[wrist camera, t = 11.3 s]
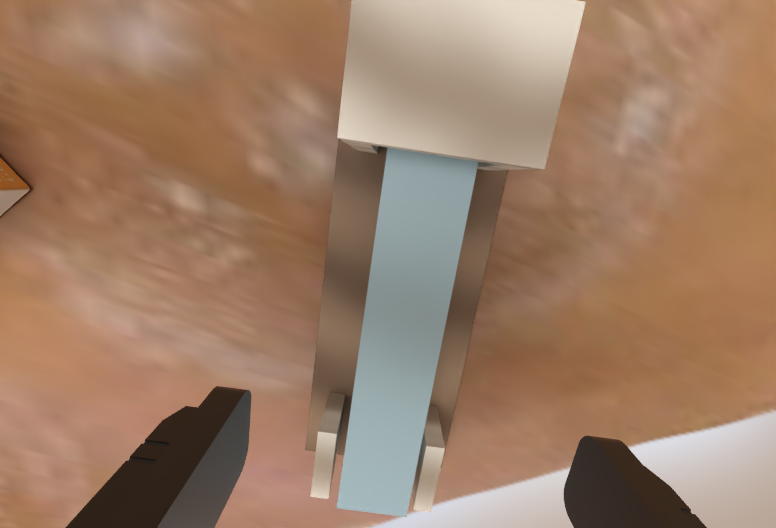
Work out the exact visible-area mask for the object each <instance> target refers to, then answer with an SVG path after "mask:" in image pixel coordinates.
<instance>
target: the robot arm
mask: <svg viewBox="0 0 776 528" xmlns="http://www.w3.org/2000/svg"><path fill="white" fill-rule="evenodd" d="M250 410H251V392H250V391H249V390H242V389H235V388H227V387H220V386H217V387H215V388H214V389H213V390H212V391H211V392H210V394H209V395H208V396H207V397H206V398H205V400H204V401H203V402H202V403H201V405H200V406H199V407H198V408H197V407H189V406H186V407H184V408H182V409H181V410H179V411H177V412H176V413H174V414H173V415H171V416H169V417H168V418H166V419H164V420H163V421H162V422H161V423H160V424H159V425H158V426H157V427H156V428H155V430H154V431H153V432H152V433H151V434H150V435H149V436H148V437H147V438H146V439H145V443H144V444H141V445H140V446H139V447H138V448H137V449H136V450H135V452H134V453H133V454H132V455H131V456H130V459H129V461H126V462H125V463H124V464H123V465H122V466H121V467H120V468H119V469H118V470H117V471H116V473H115V474H114V475H113V476H112V477H111V478H110V479H109V480H108V481H107V482H106V484H105V485H104V486H103V487H102V488H101V489H100V490H99V491H98V492H97V494H96V495H95V496H94V497H93V498H92V499H91V500H90V501H89V502H88V503H87V505H86V506H85V507H84V508H83V509H82V510H81V511H80V512H79V513H78V514H77V516H76V517H75V518H74V519H73V520H72V521H71V522H70V523H69V524H68V526H67V527H66V528H214V527H215V525H216V523H217V521H218V519H219V517H220V515H221V513H222V511H223V509H224V507H225V505H226V503H227V501H228V499H229V497H230V495H231V493H232V491H233V488H234V486H235V484H236V482H237V480H238V478H239V476H240V474H241V472H242V469H243V466H244V463H245V460H246V456H247V451H248V444H249V427H250ZM564 502H565V507H566V511H567V514H568V516H569V519H570V521H571V523H572V525H573V526H574V528H707V527H706V526H705V525H704V524H703V523H702V522H701V521H700V520H699V518H698V517H697V516H696V515H695V514H692V513H691V510H690V508H689V507H688V506H687V505H686V504H685V503H684V501H682V499H681V498H680V497H679V496H678V495H677V494H676V492H675V491H674V490H673V489H672V488H671V487H670V486H669V485H667V484H666V483H665V482H664V481H663V480H661V479H660V478H659V477H658V476H656V475H655V474H654V473H652V472H651V471H650V470H649V469H647V468H646V467H645V466H643V465H642V464H641V462H640V461H639V460H638V459H637V458H636V457H635V455H634V454H633V453H632V452H631V451H630V450H629V448H628V447H627V446H626V445H625V444H624V443H623V442H621V441H620V440H616V439H608V438H600V437H593V436H584V437H583V438H582V439H581V440H580V442H579V445H578V448H577V451H576V454H575V457H574V460H573V463H572V466H571V469H570V472H569V475H568V477H567V481H566V483H565V488H564Z"/></svg>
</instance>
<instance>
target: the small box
mask: <svg viewBox="0 0 776 528" xmlns="http://www.w3.org/2000/svg"><path fill="white" fill-rule="evenodd" d="M29 190H30V188H29V186H28V185H27V184H26V183H25V182H24V181H23V180H22V179H21V178H20V177H18V176H17V175H16V173H15V172H14V171H13V170H12V169H11V168H10V167H9V166H8V165H7V164H6V163H5V162H4V161H3V160H2V159H1V157H0V216H1V215H2V214H3V213H4V212H5V211H6V210H8V209H9V208H10V207H11V206H12V205H13V204H14V203H15V202H17V201H18V200H19V199H20V198H21V197H22V196H23V195H25V194H26V193H27V192H28V191H29Z"/></svg>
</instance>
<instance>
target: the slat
mask: <svg viewBox="0 0 776 528" xmlns="http://www.w3.org/2000/svg"><path fill="white" fill-rule="evenodd" d="M478 162H479V161H473V160H466V159H460V158H453V157H447V156H440V155H434V154H427V153H421V152H414V151H408V150H401V149H395V148H387V155H386V162H385V169H384V177H383V184H382V191H381V198H380V205H379V212H378V219H377V226H376V233H375V240H374V247H373V255H372V262H371V269H370V276H369V283H368V290H367V297H366V304H365V311H364V318H363V325H362V332H361V340H360V347H359V354H358V361H357V368H356V375H355V382H354V389H353V396H352V403H351V410H350V418H349V425H348V432H347V439H346V446H345V453H344V460H343V467H342V474H341V481H340V488H339V496H338V503H337V508H340V509H347V510H355V511H363V512H371V513H378V514H386V515H394V516H401V517H406V516H407V512H408V507H409V502H410V497H411V492H412V487H413V482H414V477H415V472H416V467H417V463H418V458H419V453H420V448H421V443H422V438H423V433H424V428H425V423H426V418H427V413H428V408H429V403H430V398H431V394H432V389H433V384H434V379H435V374H436V369H437V364H438V359H439V354H440V349H441V344H442V339H443V334H444V329H445V325H446V320H447V315H448V310H449V305H450V300H451V295H452V290H453V285H454V280H455V275H456V270H457V265H458V261H459V256H460V251H461V246H462V241H463V236H464V231H465V226H466V221H467V216H468V211H469V206H470V201H471V196H472V192H473V187H474V182H475V177H476V172H477V167H478Z"/></svg>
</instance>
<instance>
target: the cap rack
mask: <svg viewBox="0 0 776 528" xmlns="http://www.w3.org/2000/svg"><path fill="white" fill-rule="evenodd" d="M585 3H586V2H583V1H577V0H352V3H351V13H350V22H349V32H348V41H347V50H346V60H345V69H344V79H343V88H342V97H341V107H340V116H339V126H338V135H337V138H339V140H338V150H337V159H336V168H335V178H334V187H333V196H332V206H331V215H330V224H329V234H328V243H327V252H326V262H325V271H324V280H323V290H322V299H321V308H320V318H319V327H318V336H317V346H316V355H315V364H314V374H313V383H312V392H311V402H310V411H309V420H308V430H307V439H306V448H305V450H309V451H316V454H315V462H314V471H313V480H312V488H311V497H318V498H326V499H328V498H329V493H330V488H331V483H332V478H333V473H334V468H335V463H336V457H337V454H339V455H344V453H345V446H346V439H347V432H348V425H349V418H350V410H351V403H352V396H353V389H354V382H355V375H356V368H357V361H358V354H359V347H360V340H361V332H362V325H363V318H364V311H365V304H366V297H367V290H368V283H369V276H370V269H371V262H372V255H373V247H374V240H375V233H376V226H377V219H378V212H379V205H380V198H381V191H382V184H383V177H384V169H385V162H386V155H387V148H395V149H401V150H408V151H414V152H421V153H427V154H434V155H440V156H447V157H453V158H460V159H466V160H473V161H479V162H478V167H477V172H476V177H475V182H474V187H473V192H472V196H471V201H470V206H469V211H468V216H467V221H466V226H465V231H464V236H463V241H462V246H461V251H460V256H459V261H458V265H457V270H456V275H455V280H454V285H453V290H452V295H451V300H450V305H449V310H448V315H447V320H446V325H445V329H444V334H443V339H442V344H441V349H440V354H439V359H438V364H437V369H436V374H435V379H434V384H433V389H432V394H431V398H430V403H429V408H428V413H427V418H426V423H425V428H424V433H423V438H422V443H421V448H420V453H419V458H418V463H417V467H416V472H415V477H414V482H413V487H412V497H413V510H418V511H426V512H431V509H432V505H433V500H434V496H435V491H436V487H437V482H438V478H439V473H440V469H441V467H442V463H443V458H444V454H445V449H446V445H447V440H448V436H449V431H450V427H451V422H452V418H453V413H454V409H455V404H456V400H457V395H458V391H459V386H460V382H461V377H462V373H463V368H464V364H465V359H466V355H467V350H468V346H469V341H470V337H471V332H472V328H473V323H474V319H475V315H476V310H477V306H478V301H479V297H480V292H481V288H482V283H483V279H484V274H485V270H486V265H487V261H488V256H489V252H490V247H491V243H492V238H493V234H494V229H495V225H496V220H497V216H498V211H499V207H500V202H501V198H502V193H503V189H504V184H505V180H506V175H507V171H508V170H544V169H545V165H546V161H547V157H548V153H549V149H550V145H551V141H552V137H553V133H554V129H555V125H556V121H557V117H558V113H559V108H560V104H561V100H562V96H563V92H564V88H565V84H566V80H567V76H568V72H569V68H570V64H571V60H572V56H573V52H574V48H575V44H576V40H577V36H578V32H579V27H580V23H581V19H582V15H583V11H584V7H585Z"/></svg>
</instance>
